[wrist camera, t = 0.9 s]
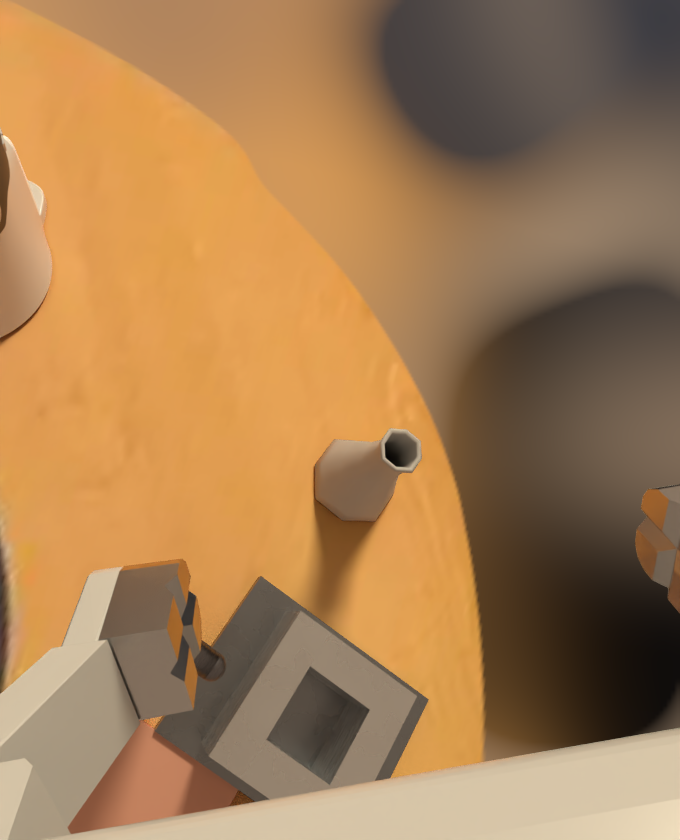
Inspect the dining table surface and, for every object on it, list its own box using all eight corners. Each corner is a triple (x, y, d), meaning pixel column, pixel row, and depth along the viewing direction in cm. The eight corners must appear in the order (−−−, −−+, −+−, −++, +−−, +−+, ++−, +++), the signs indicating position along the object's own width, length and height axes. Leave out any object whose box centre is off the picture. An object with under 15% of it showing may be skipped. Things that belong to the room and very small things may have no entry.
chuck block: (154, 728, 40) (156, 743, 35) (258, 577, 45) (273, 571, 40) (342, 860, 41) (370, 893, 36) (422, 698, 46) (457, 707, 41)
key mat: (-54, 823, 35) (-57, 826, 34) (68, 668, 39) (67, 669, 39) (139, 952, 36) (139, 957, 35) (237, 787, 40) (239, 789, 40)
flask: (380, 536, 49) (436, 517, 40) (300, 505, 48) (339, 479, 39) (401, 457, 52) (457, 423, 43) (326, 426, 51) (368, 385, 42)
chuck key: (96, 616, 41) (79, 614, 28) (126, 579, 42) (122, 560, 29) (183, 677, 41) (206, 704, 28) (210, 639, 43) (243, 648, 30)
